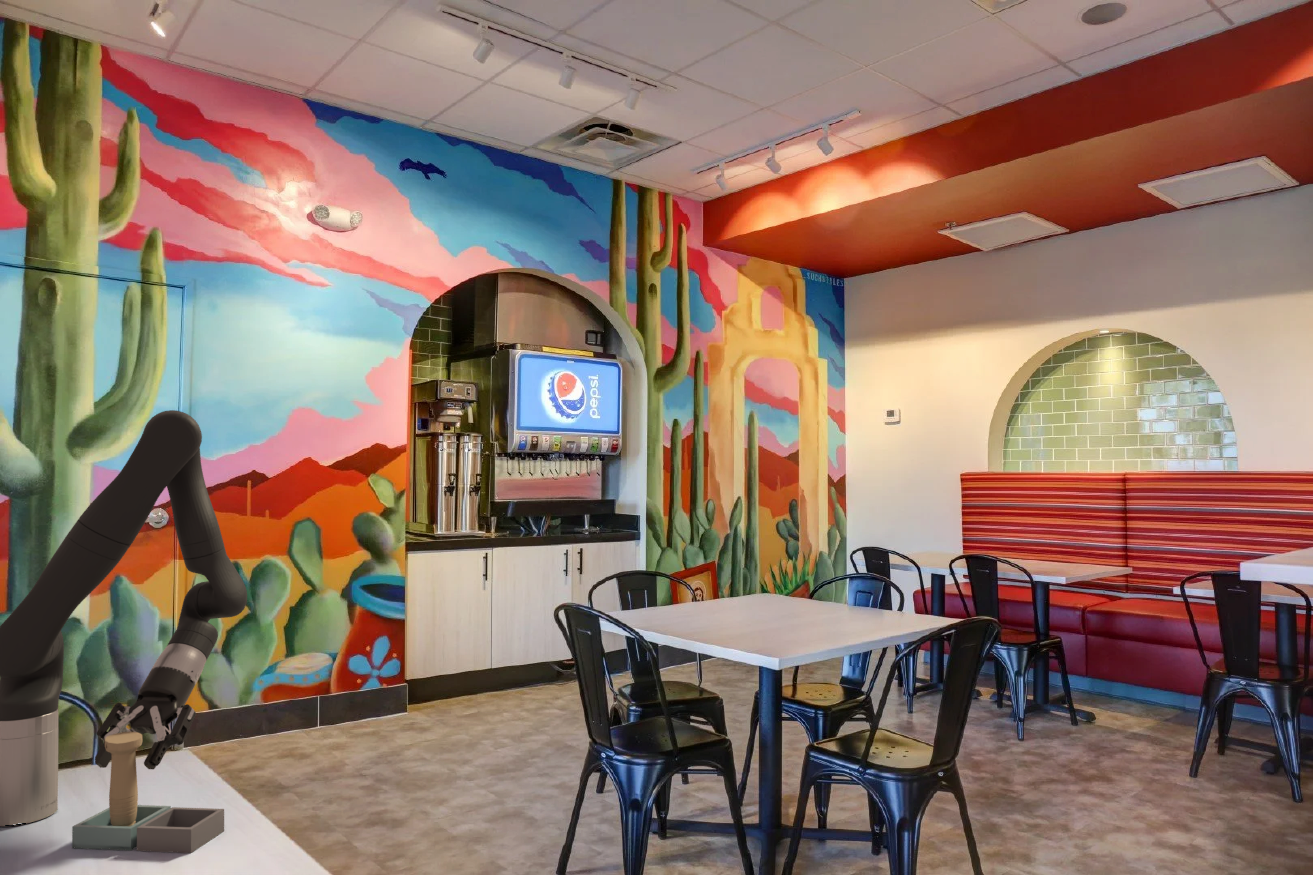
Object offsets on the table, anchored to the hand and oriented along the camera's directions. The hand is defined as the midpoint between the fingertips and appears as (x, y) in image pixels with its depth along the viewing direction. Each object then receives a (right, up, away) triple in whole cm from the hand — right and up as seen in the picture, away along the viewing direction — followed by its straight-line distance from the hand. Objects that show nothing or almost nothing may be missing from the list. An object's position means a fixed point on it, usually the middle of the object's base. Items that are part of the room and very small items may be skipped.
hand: (124, 766), depth 138 cm
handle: (0, -11, -1) cm, 11 cm away
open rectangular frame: (+11, -11, -3) cm, 15 cm away
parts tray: (0, -11, -1) cm, 11 cm away
